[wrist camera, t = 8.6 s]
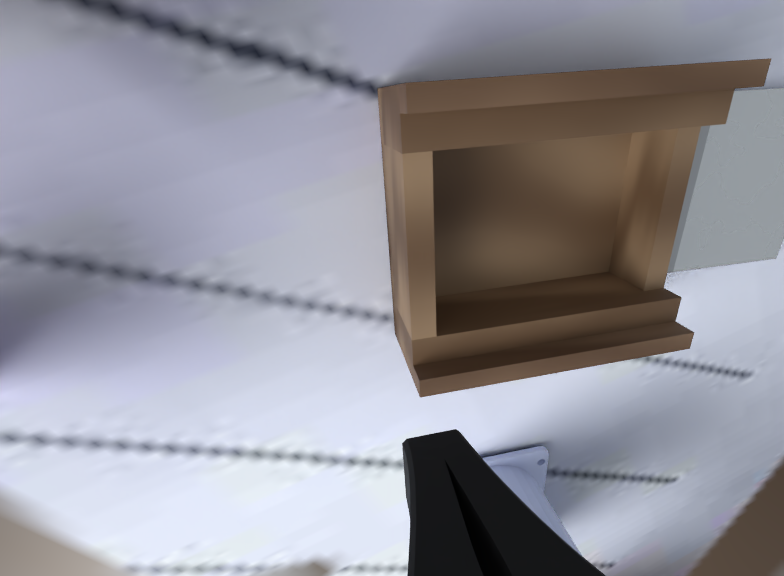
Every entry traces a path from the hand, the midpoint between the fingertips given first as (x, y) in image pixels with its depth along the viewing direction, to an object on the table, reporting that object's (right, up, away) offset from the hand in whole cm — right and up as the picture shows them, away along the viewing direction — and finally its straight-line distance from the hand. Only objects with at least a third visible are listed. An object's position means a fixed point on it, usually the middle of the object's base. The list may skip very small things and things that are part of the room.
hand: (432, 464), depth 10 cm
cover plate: (+15, +10, +11) cm, 21 cm away
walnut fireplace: (+5, +8, +9) cm, 13 cm away
